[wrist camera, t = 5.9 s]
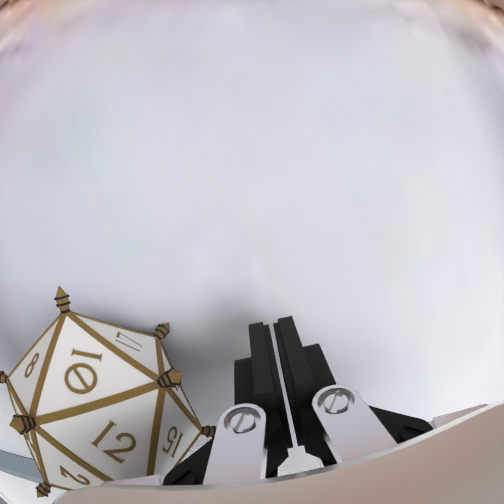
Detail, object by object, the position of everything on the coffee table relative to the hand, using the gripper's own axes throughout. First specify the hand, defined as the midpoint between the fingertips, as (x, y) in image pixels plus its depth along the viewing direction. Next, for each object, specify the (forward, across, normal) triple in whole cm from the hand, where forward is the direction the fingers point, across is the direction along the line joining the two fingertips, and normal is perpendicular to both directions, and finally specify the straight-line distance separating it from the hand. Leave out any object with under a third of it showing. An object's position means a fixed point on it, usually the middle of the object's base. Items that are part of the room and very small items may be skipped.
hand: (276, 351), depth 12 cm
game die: (+2, +7, 0) cm, 7 cm away
